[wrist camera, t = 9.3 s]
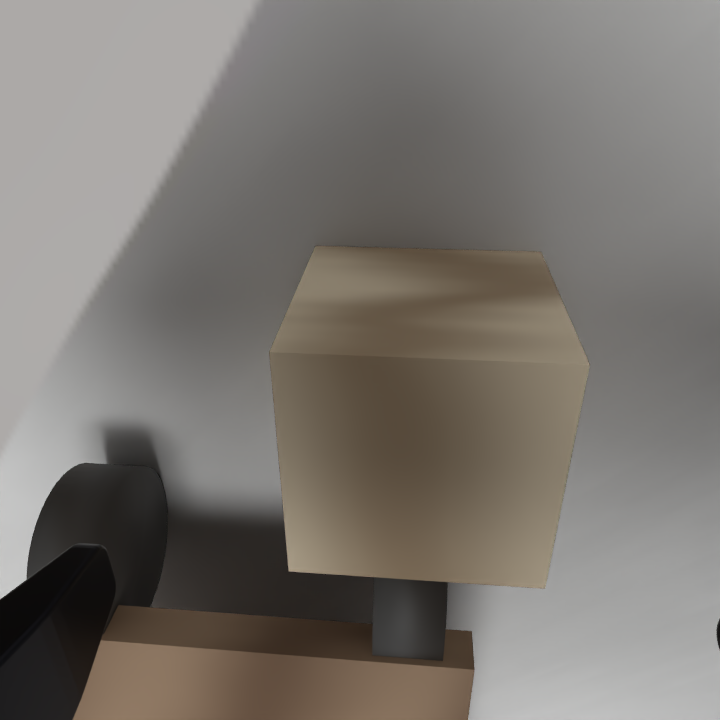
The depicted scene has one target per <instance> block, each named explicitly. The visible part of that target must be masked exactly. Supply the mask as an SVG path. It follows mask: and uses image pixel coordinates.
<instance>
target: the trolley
mask: <svg viewBox="0 0 720 720" xmlns="http://www.w3.org/2000/svg"><path fill="white" fill-rule="evenodd" d="M167 525H168V518H167V503H166V497H165V492H164V488H163V485H162V482H161V480H160V478H159V476H158V475H157V473H156V472H155V471H154V470H153V469H152V468H149V467H146V466H129V465H111V464H93V463H83V464H79V465H77V466H75V467H73V468H71V469H70V470H69V471H67V472H66V473H65V474H64V475H63V476H62V477H61V478H60V480H59V481H58V482H57V483H56V485H55V486H54V488H53V489H52V491H51V492H50V494H49V496H48V498H47V499H46V501H45V503H44V506H43V508H42V510H41V512H40V515H39V518H38V520H37V523H36V526H35V530H34V533H33V536H32V541H31V546H30V550H29V557H28V565H27V579H28V578H30V577H31V576H32V575H34V574H35V573H36V572H38V571H39V570H40V569H42V568H43V567H44V566H46V565H47V564H49V563H50V562H51V561H53V560H54V559H55V558H57V557H58V556H59V555H61V554H62V553H63V552H65V551H66V550H67V549H69V548H70V547H72V546H73V545H75V544H78V543H87V544H100V545H103V546H104V547H105V548H106V550H107V552H108V555H109V559H110V562H111V566H112V569H113V573H114V576H115V580H116V594H115V599H114V602H113V605H112V608H111V611H110V614H109V617H108V620H107V623H106V626H105V629H104V632H103V636H102V639H101V642H100V645H99V648H98V651H97V654H96V657H95V660H94V663H93V666H92V669H91V672H90V675H89V678H88V682H87V684H86V687H85V690H84V693H83V696H82V698H81V701H80V703H79V706H78V708H77V711H76V713H75V715H74V718H73V720H468V714H469V707H470V699H471V692H472V684H473V676H474V657H473V642H472V631H462V630H448V629H446V611H447V582H439V581H424V580H409V579H394V578H379V577H374V599H373V624H367V623H354V622H340V621H327V620H313V619H300V618H286V617H273V616H259V615H246V614H232V613H219V612H205V611H192V610H178V609H165V608H151V607H150V606H151V603H152V601H153V598H154V596H155V593H156V590H157V587H158V583H159V580H160V576H161V572H162V567H163V562H164V557H165V550H166V542H167Z"/></svg>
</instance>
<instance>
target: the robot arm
mask: <svg viewBox="0 0 720 720" xmlns="http://www.w3.org/2000/svg"><path fill="white" fill-rule="evenodd" d="M115 594H116V580H115V576H114V573H113V569H112V566H111V562H110V559H109V555H108V552H107V550H106V548H105V547H104V546H103V545H100V544H87V543H78V544H75V545H73V546H72V547H70V548H69V549H67V550H66V551H65V552H63V553H62V554H61V555H59V556H58V557H57V558H55V559H54V560H53V561H51V562H50V563H49V564H47V565H46V566H44V567H43V568H42V569H40V570H39V571H38V572H36V573H35V574H34V575H32V576H31V577H30V578H28V579H27V580H26V581H24V582H23V583H22V584H20V585H19V586H18V587H16V588H15V589H14V590H12V591H11V592H10V593H8V594H7V595H6V596H4V597H3V598H2V599H0V720H73V718H74V715H75V713H76V711H77V708H78V706H79V703H80V701H81V698H82V696H83V693H84V690H85V687H86V684H87V682H88V678H89V675H90V672H91V669H92V666H93V663H94V660H95V657H96V654H97V651H98V648H99V645H100V642H101V639H102V636H103V632H104V629H105V626H106V623H107V620H108V617H109V614H110V611H111V608H112V605H113V602H114V599H115ZM717 641H718V645H719V649H720V619H719V622H718V625H717Z"/></svg>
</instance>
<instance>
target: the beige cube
mask: <svg viewBox="0 0 720 720" xmlns="http://www.w3.org/2000/svg"><path fill="white" fill-rule="evenodd" d="M269 356H270V367H271V378H272V390H273V401H274V412H275V423H276V434H277V446H278V457H279V468H280V479H281V491H282V502H283V513H284V524H285V536H286V547H287V558H288V569H289V571H290V572H305V573H320V574H335V575H349V576H364V577H379V578H394V579H409V580H424V581H439V582H454V583H468V584H483V585H498V586H513V587H528V588H543V589H545V586H546V581H547V576H548V571H549V566H550V561H551V556H552V551H553V546H554V541H555V536H556V531H557V526H558V521H559V516H560V511H561V506H562V501H563V497H564V492H565V487H566V482H567V477H568V472H569V467H570V462H571V457H572V452H573V447H574V442H575V437H576V432H577V427H578V422H579V417H580V412H581V407H582V402H583V397H584V392H585V387H586V382H587V377H588V372H589V367H590V364H589V361H588V359H587V357H586V354H585V352H584V350H583V348H582V345H581V343H580V341H579V338H578V336H577V334H576V331H575V329H574V327H573V324H572V322H571V320H570V318H569V315H568V313H567V311H566V308H565V306H564V304H563V301H562V299H561V297H560V294H559V292H558V290H557V288H556V285H555V283H554V281H553V278H552V276H551V274H550V271H549V269H548V267H547V264H546V262H545V260H544V258H543V255H542V253H541V252H535V251H496V250H457V249H418V248H379V247H340V246H315V248H314V250H313V253H312V255H311V257H310V260H309V262H308V264H307V266H306V269H305V271H304V273H303V276H302V278H301V280H300V283H299V285H298V287H297V289H296V292H295V294H294V296H293V299H292V301H291V303H290V305H289V308H288V310H287V312H286V315H285V317H284V319H283V322H282V324H281V326H280V328H279V331H278V333H277V335H276V338H275V340H274V342H273V344H272V347H271V349H270V351H269Z"/></svg>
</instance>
